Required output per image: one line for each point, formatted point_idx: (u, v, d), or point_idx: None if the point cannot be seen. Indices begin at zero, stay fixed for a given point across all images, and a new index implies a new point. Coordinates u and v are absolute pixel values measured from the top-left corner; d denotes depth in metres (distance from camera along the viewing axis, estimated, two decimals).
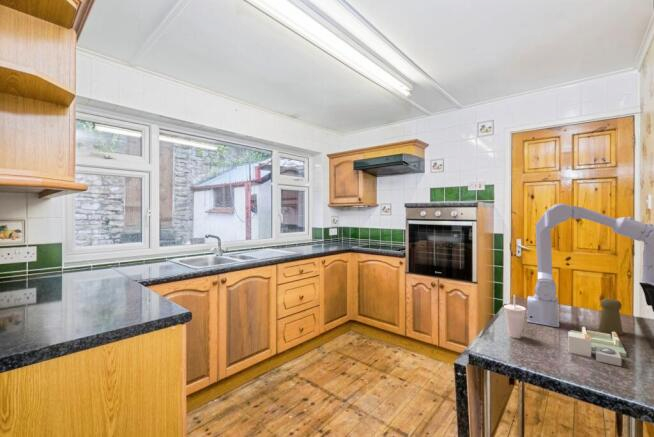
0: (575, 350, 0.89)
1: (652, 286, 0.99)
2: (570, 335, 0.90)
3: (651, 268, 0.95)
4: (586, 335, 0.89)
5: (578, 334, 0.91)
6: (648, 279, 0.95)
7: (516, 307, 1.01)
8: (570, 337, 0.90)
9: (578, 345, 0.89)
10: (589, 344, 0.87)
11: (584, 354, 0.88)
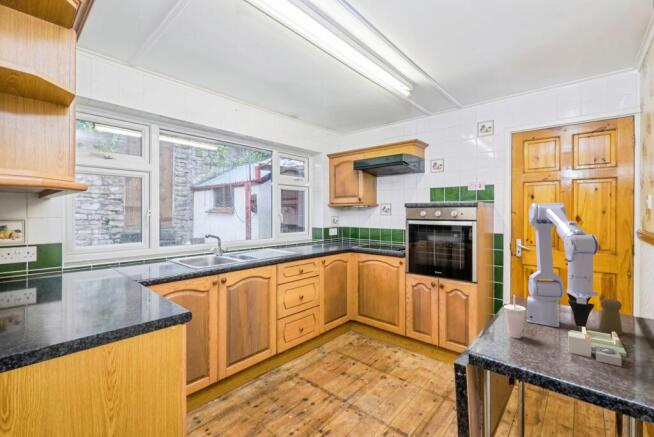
0: (575, 350, 0.89)
1: None
2: (570, 335, 0.90)
3: (574, 278, 0.88)
4: (586, 335, 0.89)
5: (578, 334, 0.91)
6: (571, 290, 0.89)
7: (516, 307, 1.01)
8: (570, 337, 0.90)
9: (578, 345, 0.89)
10: (589, 344, 0.87)
11: (584, 354, 0.88)
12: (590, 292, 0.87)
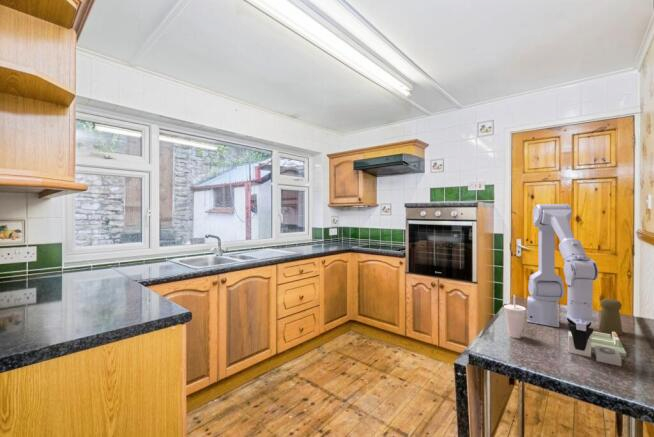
0: (575, 350, 0.89)
1: None
2: (570, 335, 0.90)
3: (574, 303, 0.89)
4: None
5: None
6: (571, 315, 0.89)
7: (516, 307, 1.01)
8: (570, 337, 0.90)
9: None
10: (589, 344, 0.87)
11: (584, 354, 0.88)
12: (590, 318, 0.87)
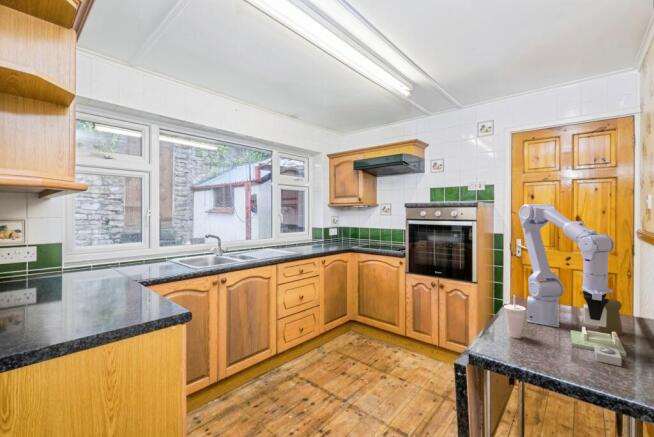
0: (591, 321, 0.93)
1: None
2: (586, 307, 0.95)
3: (589, 276, 0.93)
4: None
5: None
6: (587, 287, 0.94)
7: (516, 307, 1.01)
8: (586, 308, 0.94)
9: None
10: (604, 314, 0.91)
11: (599, 324, 0.92)
12: (605, 289, 0.91)
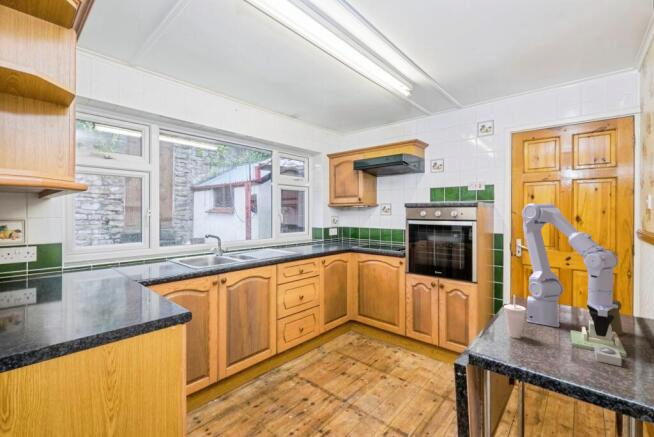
0: (596, 337, 0.95)
1: None
2: (591, 323, 0.96)
3: (595, 292, 0.94)
4: None
5: None
6: (592, 302, 0.95)
7: (516, 307, 1.01)
8: (591, 325, 0.96)
9: None
10: (609, 331, 0.93)
11: None
12: (610, 305, 0.93)
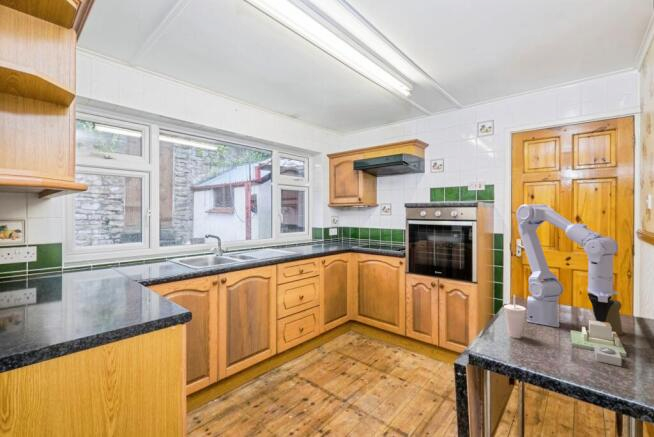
0: (596, 337, 0.95)
1: None
2: (591, 323, 0.96)
3: (595, 278, 0.94)
4: (606, 323, 0.95)
5: (598, 322, 0.96)
6: (592, 289, 0.95)
7: (516, 307, 1.01)
8: (591, 325, 0.96)
9: (599, 332, 0.95)
10: (609, 331, 0.93)
11: None
12: (610, 291, 0.93)
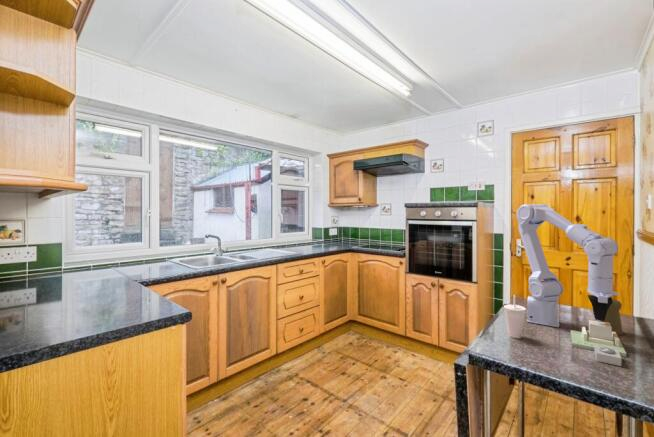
0: (596, 337, 0.95)
1: None
2: (591, 323, 0.96)
3: (595, 279, 0.94)
4: (606, 323, 0.95)
5: (598, 322, 0.96)
6: (592, 290, 0.95)
7: (516, 307, 1.01)
8: (591, 325, 0.96)
9: (599, 332, 0.95)
10: (609, 331, 0.93)
11: None
12: (610, 292, 0.93)
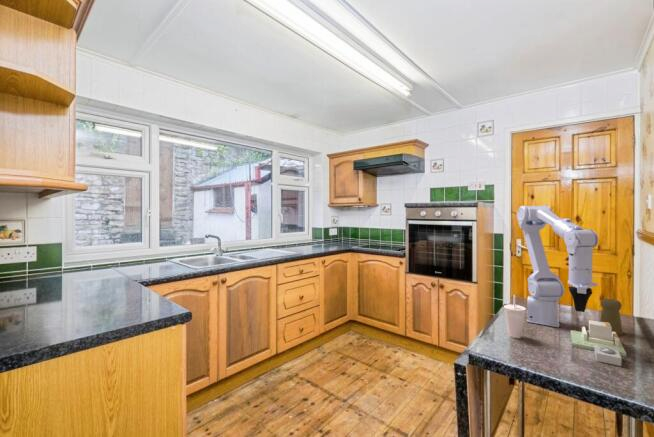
0: (596, 337, 0.95)
1: None
2: (591, 323, 0.96)
3: (575, 270, 0.95)
4: (606, 323, 0.95)
5: (598, 322, 0.96)
6: (572, 281, 0.96)
7: (516, 307, 1.01)
8: (591, 325, 0.96)
9: (599, 332, 0.95)
10: (609, 331, 0.93)
11: None
12: (590, 283, 0.93)
